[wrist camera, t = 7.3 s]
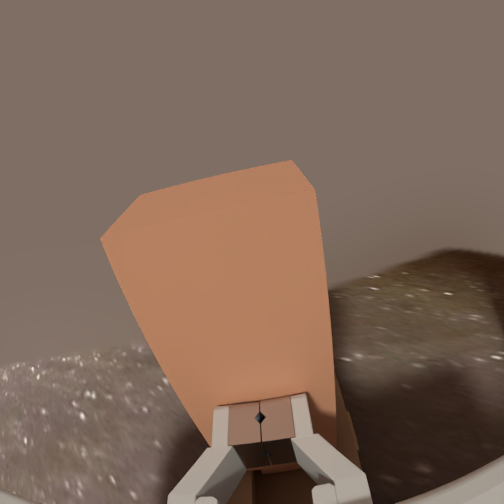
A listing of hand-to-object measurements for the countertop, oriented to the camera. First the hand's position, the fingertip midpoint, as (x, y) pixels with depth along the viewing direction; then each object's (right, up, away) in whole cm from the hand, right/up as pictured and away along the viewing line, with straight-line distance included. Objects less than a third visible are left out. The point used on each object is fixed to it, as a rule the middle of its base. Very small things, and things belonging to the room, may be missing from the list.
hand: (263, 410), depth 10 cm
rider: (+1, -5, +4) cm, 7 cm away
